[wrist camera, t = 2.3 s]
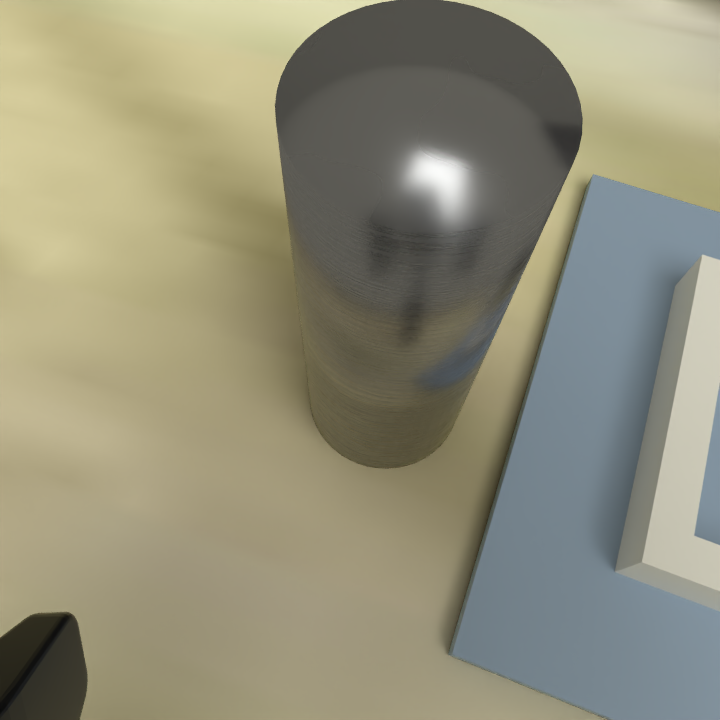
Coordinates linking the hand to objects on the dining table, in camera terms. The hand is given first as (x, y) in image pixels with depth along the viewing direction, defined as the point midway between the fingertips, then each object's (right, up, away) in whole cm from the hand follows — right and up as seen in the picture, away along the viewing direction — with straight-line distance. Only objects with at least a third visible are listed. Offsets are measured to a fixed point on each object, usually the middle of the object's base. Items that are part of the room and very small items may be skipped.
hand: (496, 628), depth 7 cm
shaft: (-1, +2, +16) cm, 16 cm away
